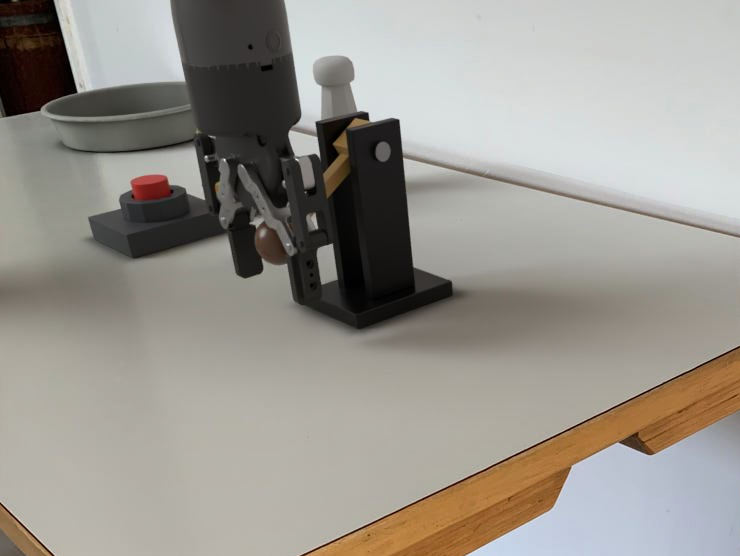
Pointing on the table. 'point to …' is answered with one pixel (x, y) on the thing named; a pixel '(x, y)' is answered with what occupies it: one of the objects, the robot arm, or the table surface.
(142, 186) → the button
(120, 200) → the button block
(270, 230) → the switch lever
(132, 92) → the cake pan
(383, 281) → the switch bracket
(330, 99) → the salt shaker
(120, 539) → the table surface
